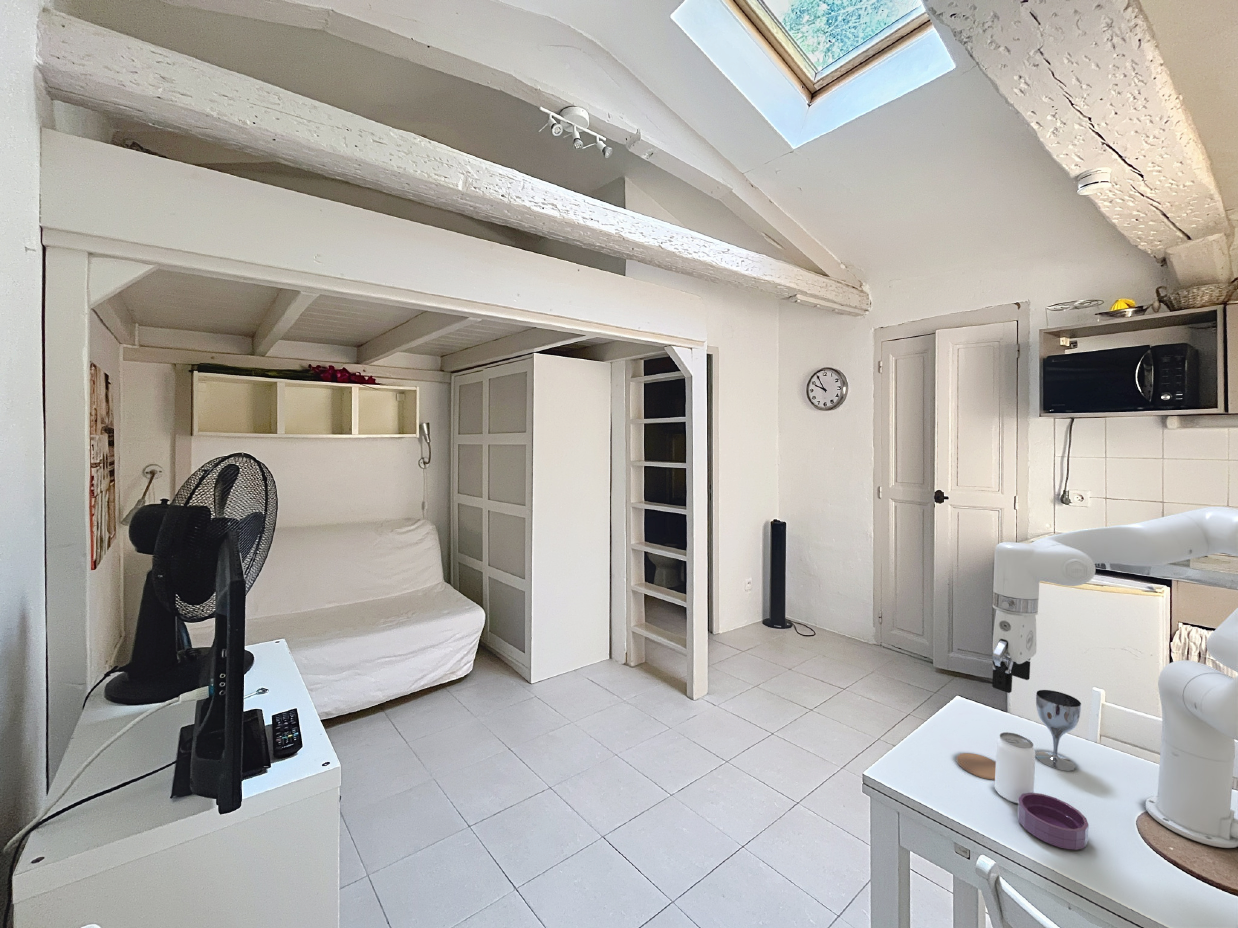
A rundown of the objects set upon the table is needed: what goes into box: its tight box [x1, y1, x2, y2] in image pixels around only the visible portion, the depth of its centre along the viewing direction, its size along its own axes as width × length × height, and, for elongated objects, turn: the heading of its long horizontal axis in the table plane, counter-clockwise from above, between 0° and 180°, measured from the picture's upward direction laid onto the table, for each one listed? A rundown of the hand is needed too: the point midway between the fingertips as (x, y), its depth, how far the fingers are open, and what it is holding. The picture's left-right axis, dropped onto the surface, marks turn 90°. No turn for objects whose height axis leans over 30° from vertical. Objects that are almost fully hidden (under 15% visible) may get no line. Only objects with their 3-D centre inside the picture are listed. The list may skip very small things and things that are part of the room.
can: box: [994, 731, 1036, 805], centre depth 110 cm, size 6×6×12 cm
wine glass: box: [1035, 689, 1082, 772], centre depth 121 cm, size 8×8×15 cm
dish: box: [1016, 792, 1090, 851], centre depth 100 cm, size 10×10×4 cm
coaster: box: [956, 752, 996, 781], centre depth 119 cm, size 9×9×1 cm
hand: (1011, 683), depth 109 cm, fingers open, 9 cm apart
